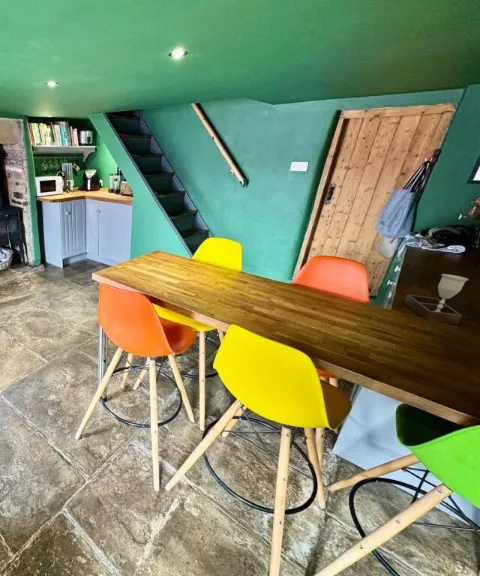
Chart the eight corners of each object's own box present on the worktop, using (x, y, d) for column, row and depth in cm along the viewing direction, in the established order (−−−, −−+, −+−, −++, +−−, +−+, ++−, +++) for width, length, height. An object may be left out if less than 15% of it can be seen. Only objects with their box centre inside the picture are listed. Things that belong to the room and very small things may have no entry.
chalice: (448, 319, 126) (469, 278, 120) (445, 322, 122) (467, 280, 116) (424, 312, 131) (443, 273, 125) (420, 315, 128) (440, 275, 121)
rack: (432, 308, 137) (436, 297, 135) (457, 327, 121) (462, 315, 119) (403, 304, 141) (407, 294, 139) (423, 322, 125) (428, 311, 123)
